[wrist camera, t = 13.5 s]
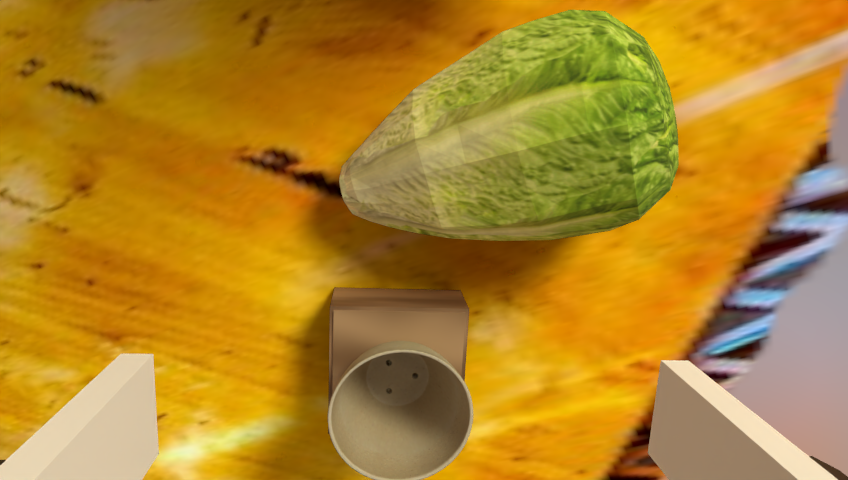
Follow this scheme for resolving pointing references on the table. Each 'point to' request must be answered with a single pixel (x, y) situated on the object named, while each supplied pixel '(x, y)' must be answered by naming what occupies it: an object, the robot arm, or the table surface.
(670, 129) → the lettuce
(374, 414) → the flower pot
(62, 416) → the robot arm
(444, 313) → the walnut block
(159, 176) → the table surface
